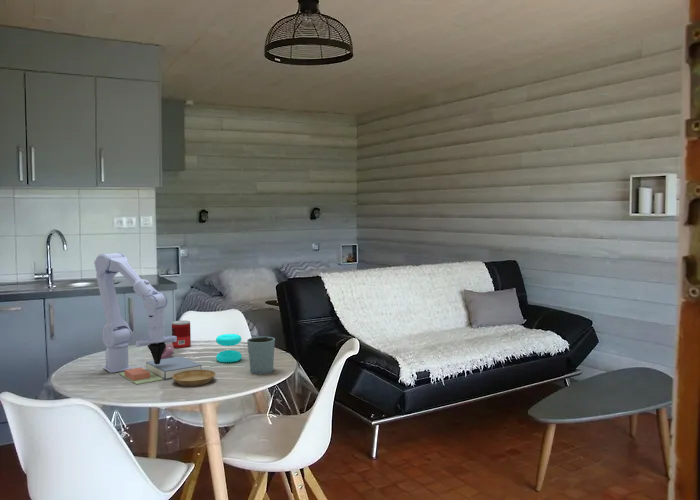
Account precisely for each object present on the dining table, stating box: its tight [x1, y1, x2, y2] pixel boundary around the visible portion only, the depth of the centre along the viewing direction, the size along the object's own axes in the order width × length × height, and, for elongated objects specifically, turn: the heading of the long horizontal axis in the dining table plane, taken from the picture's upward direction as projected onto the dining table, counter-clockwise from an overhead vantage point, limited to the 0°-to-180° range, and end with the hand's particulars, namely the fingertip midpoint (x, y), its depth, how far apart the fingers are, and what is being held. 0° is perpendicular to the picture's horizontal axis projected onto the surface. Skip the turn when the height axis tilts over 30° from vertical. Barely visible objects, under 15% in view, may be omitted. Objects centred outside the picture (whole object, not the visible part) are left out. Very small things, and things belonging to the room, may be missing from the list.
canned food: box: [171, 319, 192, 349], centre depth 267 cm, size 8×8×11 cm
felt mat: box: [118, 368, 164, 386], centre depth 217 cm, size 18×9×1 cm, turn 39°
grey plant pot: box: [246, 336, 276, 375], centre depth 224 cm, size 10×10×12 cm
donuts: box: [215, 333, 243, 364], centre depth 241 cm, size 10×10×10 cm
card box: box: [123, 366, 150, 381], centre depth 215 cm, size 9×6×2 cm, turn 39°
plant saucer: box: [171, 369, 217, 387], centre depth 210 cm, size 15×15×3 cm
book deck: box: [145, 355, 203, 380], centre depth 224 cm, size 18×14×3 cm
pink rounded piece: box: [161, 343, 175, 359], centre depth 244 cm, size 10×5×7 cm, turn 22°
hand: (157, 363), depth 220 cm, fingers closed
